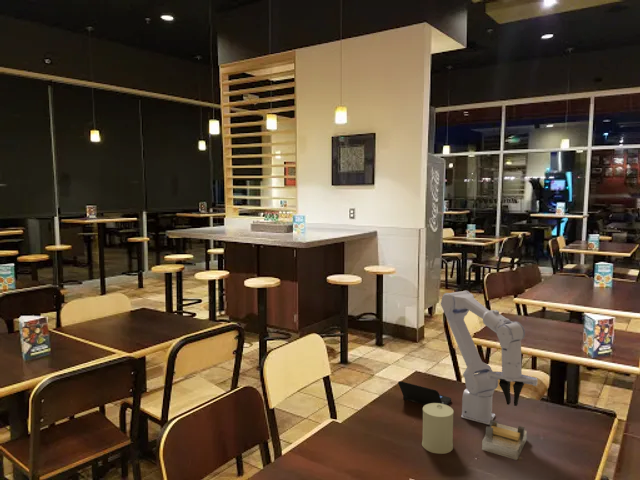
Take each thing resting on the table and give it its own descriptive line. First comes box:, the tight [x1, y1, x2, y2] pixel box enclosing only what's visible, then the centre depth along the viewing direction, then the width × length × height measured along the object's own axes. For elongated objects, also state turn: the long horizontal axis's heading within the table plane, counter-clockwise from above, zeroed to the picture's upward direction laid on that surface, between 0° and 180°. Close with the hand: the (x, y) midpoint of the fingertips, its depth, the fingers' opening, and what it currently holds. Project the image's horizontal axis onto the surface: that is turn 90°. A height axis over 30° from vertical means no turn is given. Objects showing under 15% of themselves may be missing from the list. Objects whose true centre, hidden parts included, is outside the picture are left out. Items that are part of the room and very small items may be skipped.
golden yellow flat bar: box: [491, 426, 520, 441], centre depth 146 cm, size 8×3×1 cm, turn 56°
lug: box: [517, 425, 526, 437], centre depth 146 cm, size 2×2×2 cm
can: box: [421, 403, 455, 455], centre depth 146 cm, size 9×9×12 cm
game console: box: [398, 380, 452, 406], centre depth 175 cm, size 16×14×9 cm
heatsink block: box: [481, 419, 528, 461], centre depth 146 cm, size 10×13×5 cm
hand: (512, 404), depth 150 cm, fingers closed
